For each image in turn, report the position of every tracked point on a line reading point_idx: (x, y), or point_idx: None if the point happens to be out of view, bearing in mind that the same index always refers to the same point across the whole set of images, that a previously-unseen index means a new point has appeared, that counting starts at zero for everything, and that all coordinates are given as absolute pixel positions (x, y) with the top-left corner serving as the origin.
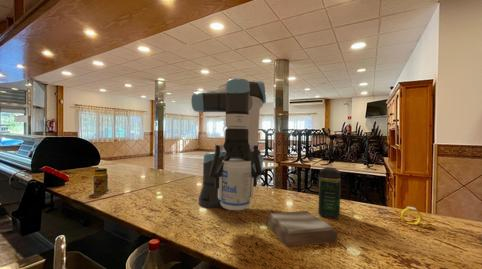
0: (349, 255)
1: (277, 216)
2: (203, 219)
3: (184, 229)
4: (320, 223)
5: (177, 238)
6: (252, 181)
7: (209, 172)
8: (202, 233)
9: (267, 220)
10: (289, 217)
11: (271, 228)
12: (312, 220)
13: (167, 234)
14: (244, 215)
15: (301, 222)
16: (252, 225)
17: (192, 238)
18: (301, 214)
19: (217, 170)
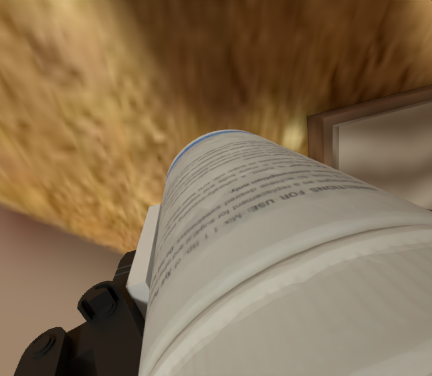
0: None
1: (350, 153)
2: (91, 76)
3: (58, 166)
4: (428, 193)
5: (66, 218)
6: None
7: (22, 367)
8: (124, 187)
9: (315, 126)
10: (379, 159)
11: (310, 155)
12: (424, 176)
13: (23, 200)
14: (250, 28)
15: (390, 191)
16: (265, 127)
17: (107, 215)
18: (426, 131)
19: (100, 367)
